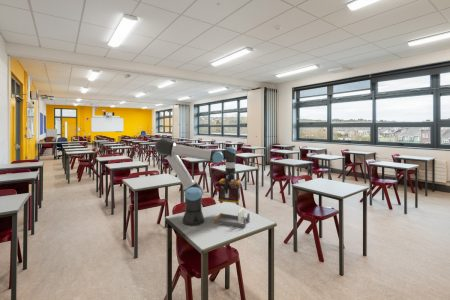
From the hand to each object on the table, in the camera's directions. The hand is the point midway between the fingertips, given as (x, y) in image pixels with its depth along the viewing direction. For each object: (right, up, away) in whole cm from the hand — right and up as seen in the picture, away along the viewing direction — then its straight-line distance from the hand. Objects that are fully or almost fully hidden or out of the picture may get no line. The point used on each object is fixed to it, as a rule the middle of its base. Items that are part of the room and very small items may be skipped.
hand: (229, 195), depth 187 cm
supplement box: (0, -4, 0) cm, 4 cm away
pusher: (+9, -16, -17) cm, 25 cm away
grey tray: (+1, -16, -13) cm, 21 cm away
